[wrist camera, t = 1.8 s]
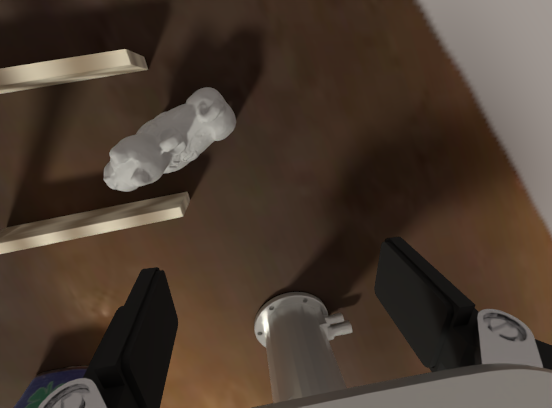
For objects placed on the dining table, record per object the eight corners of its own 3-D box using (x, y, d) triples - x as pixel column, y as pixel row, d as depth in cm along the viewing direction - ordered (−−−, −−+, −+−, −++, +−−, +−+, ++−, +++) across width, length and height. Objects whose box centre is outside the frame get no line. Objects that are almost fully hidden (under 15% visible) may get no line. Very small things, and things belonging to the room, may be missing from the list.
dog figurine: (124, 143, 30) (69, 167, 20) (215, 80, 29) (204, 72, 19) (156, 180, 32) (121, 217, 22) (242, 122, 31) (245, 134, 21)
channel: (144, 56, 27) (-12, -10, 10) (190, 200, 33) (144, 307, 17) (-84, 93, 25) (-732, 88, 8) (11, 235, 32) (-241, 395, 15)
